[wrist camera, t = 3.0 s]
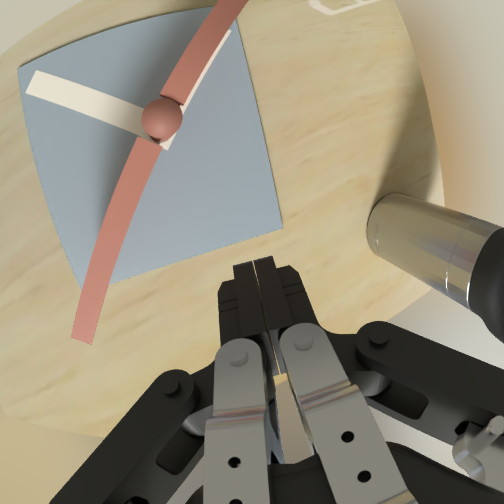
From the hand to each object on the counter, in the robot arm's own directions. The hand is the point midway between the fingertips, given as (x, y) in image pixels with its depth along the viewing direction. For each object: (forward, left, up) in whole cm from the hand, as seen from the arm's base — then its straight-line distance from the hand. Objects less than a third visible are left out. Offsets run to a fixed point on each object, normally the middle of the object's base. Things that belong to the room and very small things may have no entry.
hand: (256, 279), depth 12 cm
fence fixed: (-2, -11, -21) cm, 24 cm away
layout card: (+3, -7, -21) cm, 22 cm away
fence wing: (+7, -1, -20) cm, 22 cm away
